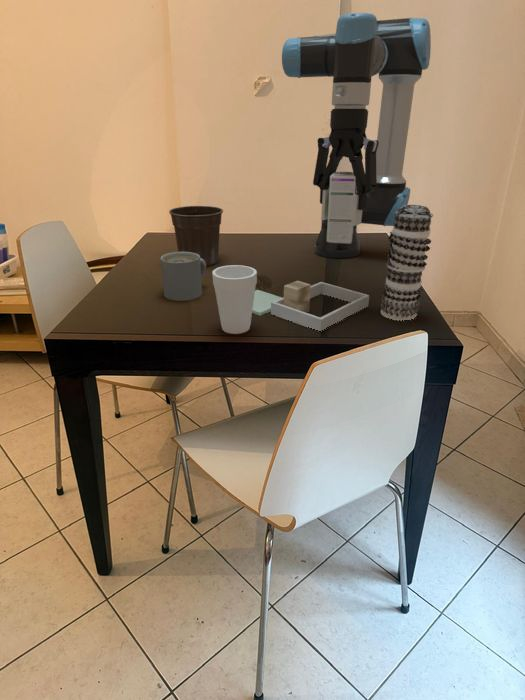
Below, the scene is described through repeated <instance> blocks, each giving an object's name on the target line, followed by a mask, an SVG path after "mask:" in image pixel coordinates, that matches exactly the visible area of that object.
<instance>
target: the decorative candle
mask: <svg viewBox="0 0 525 700" xmlns="http://www.w3.org/2000/svg"><path fill="white" fill-rule="evenodd" d="M395 214H396V216H395V223H394V226H392V231H390V232H389V233H390V234H389V236H388V242H390V243H389V244H388V246H387V248H388V251H387V252H386V254H387V258H388V259H387V261H386V266H387V268H388V269H387V275H386V278H385V284H383V288H384V289H383V291H382V294H383V296H382V298H381V302H382V303H381V304H380V307H381V309H380V315H381V316H383V317H384V318H387V319H388V318H389V320H391V319H392V320H393V321H396V320H397V322H405V321H404V320H410V321H412V320H411V319H413V320H415V319H416V318H417V317H416V316H418V311H419V308H418V307H419V306H420V302H419V301H420V298H421V292H422V276H423V271H425V270H426V266H427V265H428V264H427V262H426V261H425V260H427V259H428V255H427V254H426V252H428V251H430V250H431V247H430V246H428V245H430V244H431V243H432V240H431V239H430V238H429V237H430V235H431V234H430V233H431V224H432V218H433V217H434V214H433V213H431V211H430V209H429V207H427V206H426V205H425V206H424V205H422V204H421V205H420V204H408V205H404V206H402V207H401V208H400V209H399V210H398V211H397V212H395ZM415 317H416V318H415ZM414 318H415V319H414ZM399 320H400V321H399ZM402 320H403V321H402Z"/></svg>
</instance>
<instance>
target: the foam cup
mask: <svg viewBox="0 0 525 700" xmlns="http://www.w3.org/2000/svg"><path fill="white" fill-rule="evenodd" d="M257 274H258V271H257V269H255V268H254V267H251V266H248V265H247V266H246V265H241V264H239V265H238V264H233V265H232V264H231V265H223V266H219V267H216V268H215V269H213V270H212V285H213V287H214V291H215V296H216V298H215V299H216V304H217V308H218V315H219V320H220V321H219V322H220V325H221V330H222V331H224V333H227V334H233V335H238V334H243V333H246V332H248V331H249V330H250V329H251V328H250V327H251V322H252V314H253V313H252V309H253V301H254V294H255V291H256V285H257V284H258V279H257V278H258V275H257Z"/></svg>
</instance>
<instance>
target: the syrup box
mask: <svg viewBox="0 0 525 700" xmlns="http://www.w3.org/2000/svg"><path fill="white" fill-rule="evenodd" d="M355 179H356V177H355V176H354V173H353V171H336V172H334V173H333V174H331V176H330V187H329V203H328V222H327V242H331V243H350V244H351V242H352V238H353V227H354V226H352V214H353V203H354V194H356V188H357V187H356V182H355Z"/></svg>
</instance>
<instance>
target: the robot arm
mask: <svg viewBox="0 0 525 700" xmlns="http://www.w3.org/2000/svg"><path fill="white" fill-rule="evenodd" d="M336 21H337V23H336V28H335V29H336V30H335V33H328V34H322V35H315V36H314V35H313V36H303V37H300V36H297V37H291V38H290V37H289V38H288V39H286V40H285V41H284V43H283V46H282V51H281V66H282V69H283V72H284V74H285V75H286V76H287V77H288V78H297V79H301V78H320V77H322V78H323V77H328V78H331V77H332V78H333V79H332V90H331V91H332V92H331V93H332V95H331V105H332V106H334V108H332V109H331V110H330V121H329V126H330V130H331V131H330V134H329V136H327V137H319V138H317V151H318V152H317V157H316V163H315V166H314V167H315V169H314V175H313V180H312V184H313V186H317V187H318V188H319V190H320V191H319V204H320V205H321V217H320V220H321V226H320V231H319V234H318V236H317V239H316V242H315V243H314V253H315V254H316V255H318V256H321V257H325V258H332V259H349V258H355V257H358V255H360V252H361V249H360V248H361V245H360V240H359V236H358V230H357V229H358V225H362V224H364V225H365V224H367V225H374V226H375V225H376V226H383V227H393V226H394V223H395V216H396V214H395V212H397V211H398V210H399V209H400V208H401V207H402V206H404V205H409V200H410V194H411V188H409V186H407V180H406V179H405V177H404V176H403V173H404V172H403V170H404V163H405V156H406V148H407V142H408V135H409V127H410V121H411V112H412V106H413V100H414V99H413V98H414V90H415V84H416V83H417V82H418V81H419V80H420V79H421V78H422V74H423V71H426V70H427V69H429V66H430V60H431V48H432V47H431V38H432V37H431V27H430V22H429V21H428V20H427V19H426V18H422V17H419V18H418V17H415V18H414V17H408V18H406V17H404V18H394V19H384V20H383V19H382V20H378V19H377V16H376V15H374V14H373V13H368V12H351V13H350V12H349V13H344V14H342V15H340V16H339V17H338V20H336ZM377 75H378V79H379V81H381V84H382V91H381V92H382V93H381V102H380V107H379V108H380V111H379V119H378V125H377V126H378V128H377V137H376V139H375V140H374V139H369V138H367V137H368V136H367V135H366V130H367V127H368V119H369V118H368V117H369V110H368V109H367V106H369V105H370V98H371V87H372V77H374V76H377ZM330 147H332V149H331V152H330ZM362 149H364V155H363V152H362ZM363 156H364V158H363ZM343 157H345V158H347V159H348V160H349V163H350V164H351V169H352V172H353V173H354V176H355V177H356V179H355V182H356V187H357V188H356V194H354V203H353V214H352V226H354V227H353V238H352V242H351V244H350V243H331V242H327V222H328V203H329V187H330V176H331V174H333V173H334V172H337V169H338V167H339V164H340V162H341V160H342V159H343ZM328 158H329V159H328ZM363 159H364V163H363Z"/></svg>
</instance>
